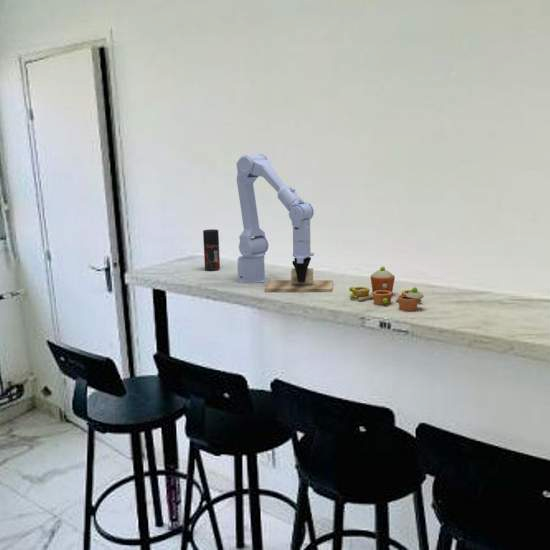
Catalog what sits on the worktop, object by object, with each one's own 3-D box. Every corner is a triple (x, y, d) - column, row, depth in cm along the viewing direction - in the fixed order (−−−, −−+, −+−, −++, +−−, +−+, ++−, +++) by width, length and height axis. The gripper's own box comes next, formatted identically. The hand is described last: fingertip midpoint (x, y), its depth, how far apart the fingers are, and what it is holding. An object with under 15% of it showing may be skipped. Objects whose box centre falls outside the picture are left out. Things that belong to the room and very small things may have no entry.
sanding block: (291, 285, 200) (291, 270, 199) (292, 282, 204) (292, 268, 203) (312, 285, 199) (312, 271, 198) (313, 283, 203) (313, 268, 202)
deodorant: (210, 266, 240) (209, 229, 237) (223, 267, 237) (221, 229, 234) (201, 269, 235) (199, 231, 232) (214, 270, 232) (212, 232, 229)
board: (264, 291, 197) (264, 288, 197) (269, 283, 209) (269, 280, 209) (332, 292, 194) (332, 288, 194) (333, 283, 206) (333, 280, 206)
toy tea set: (342, 299, 187) (342, 269, 185) (376, 291, 196) (376, 262, 194) (408, 317, 167) (409, 283, 165) (443, 307, 176) (444, 275, 174)
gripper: (312, 243, 191) (312, 285, 193) (315, 236, 205) (315, 275, 208) (290, 243, 191) (290, 285, 194) (294, 236, 205) (294, 275, 208)
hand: (302, 280), depth 201 cm, fingers closed on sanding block, 4 cm apart
